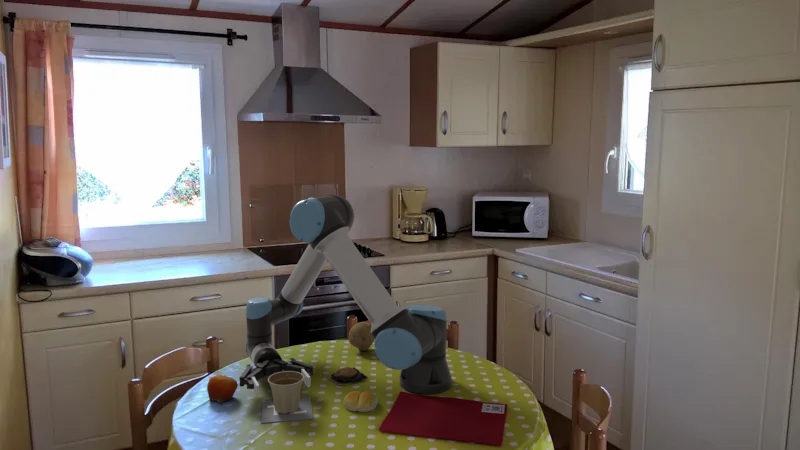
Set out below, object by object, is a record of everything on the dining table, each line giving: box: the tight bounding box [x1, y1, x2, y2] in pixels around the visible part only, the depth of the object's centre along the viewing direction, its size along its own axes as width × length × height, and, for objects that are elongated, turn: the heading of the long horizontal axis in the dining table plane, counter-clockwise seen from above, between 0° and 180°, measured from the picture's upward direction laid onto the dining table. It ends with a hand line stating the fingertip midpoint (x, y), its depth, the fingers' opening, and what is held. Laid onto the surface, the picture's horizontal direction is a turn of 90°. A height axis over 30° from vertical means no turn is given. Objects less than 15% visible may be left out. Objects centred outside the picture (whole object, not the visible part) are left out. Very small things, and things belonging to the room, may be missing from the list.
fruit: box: [206, 374, 239, 406], centre depth 168 cm, size 8×8×8 cm
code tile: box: [260, 396, 314, 424], centre depth 162 cm, size 13×13×1 cm
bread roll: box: [343, 390, 379, 413], centre depth 164 cm, size 8×9×4 cm
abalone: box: [327, 366, 369, 387], centre depth 183 cm, size 11×8×4 cm
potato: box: [348, 321, 375, 352], centre depth 206 cm, size 9×9×10 cm
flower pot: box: [267, 371, 304, 414], centre depth 161 cm, size 9×9×9 cm
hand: (284, 386), depth 161 cm, fingers open, 13 cm apart
